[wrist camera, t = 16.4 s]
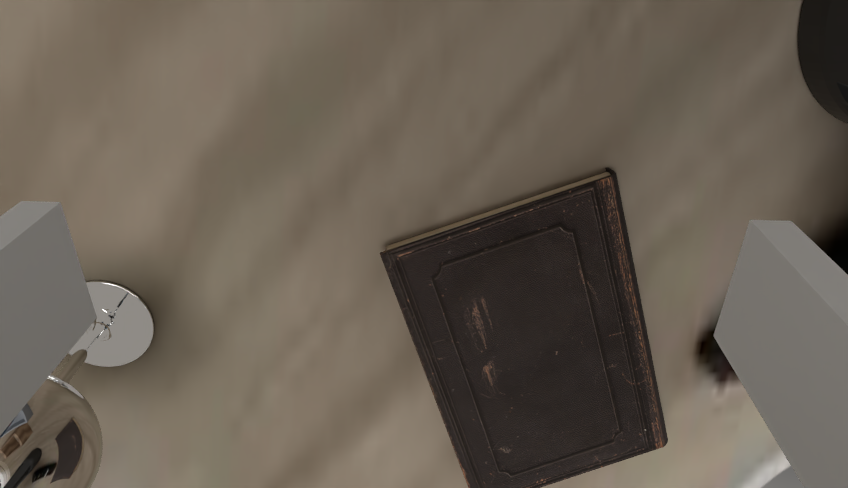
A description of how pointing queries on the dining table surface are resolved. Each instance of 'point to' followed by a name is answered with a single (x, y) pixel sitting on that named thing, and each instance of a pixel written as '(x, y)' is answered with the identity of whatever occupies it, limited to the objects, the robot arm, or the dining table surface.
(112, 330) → the wineglass
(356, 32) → the dining table surface
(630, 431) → the hardcover book
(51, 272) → the robot arm
